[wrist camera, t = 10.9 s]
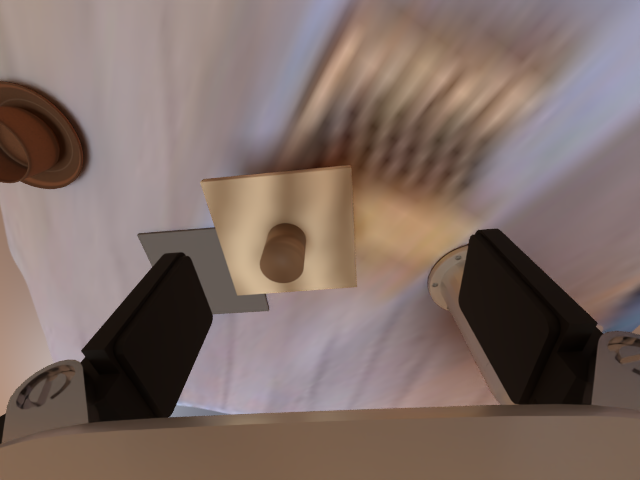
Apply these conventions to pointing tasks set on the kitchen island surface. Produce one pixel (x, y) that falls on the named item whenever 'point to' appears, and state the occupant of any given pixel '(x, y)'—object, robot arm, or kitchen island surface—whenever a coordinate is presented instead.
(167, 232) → the rubber mat
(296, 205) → the birch lid
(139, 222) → the kitchen island surface
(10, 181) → the cup and saucer
